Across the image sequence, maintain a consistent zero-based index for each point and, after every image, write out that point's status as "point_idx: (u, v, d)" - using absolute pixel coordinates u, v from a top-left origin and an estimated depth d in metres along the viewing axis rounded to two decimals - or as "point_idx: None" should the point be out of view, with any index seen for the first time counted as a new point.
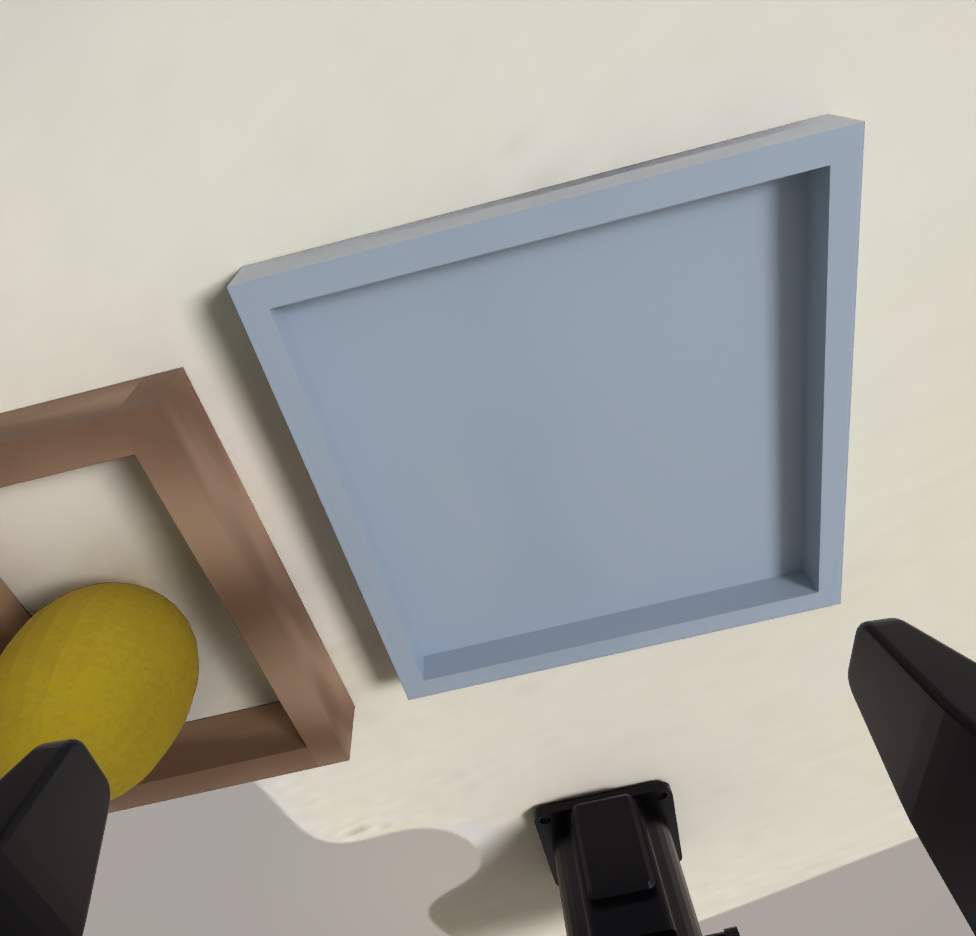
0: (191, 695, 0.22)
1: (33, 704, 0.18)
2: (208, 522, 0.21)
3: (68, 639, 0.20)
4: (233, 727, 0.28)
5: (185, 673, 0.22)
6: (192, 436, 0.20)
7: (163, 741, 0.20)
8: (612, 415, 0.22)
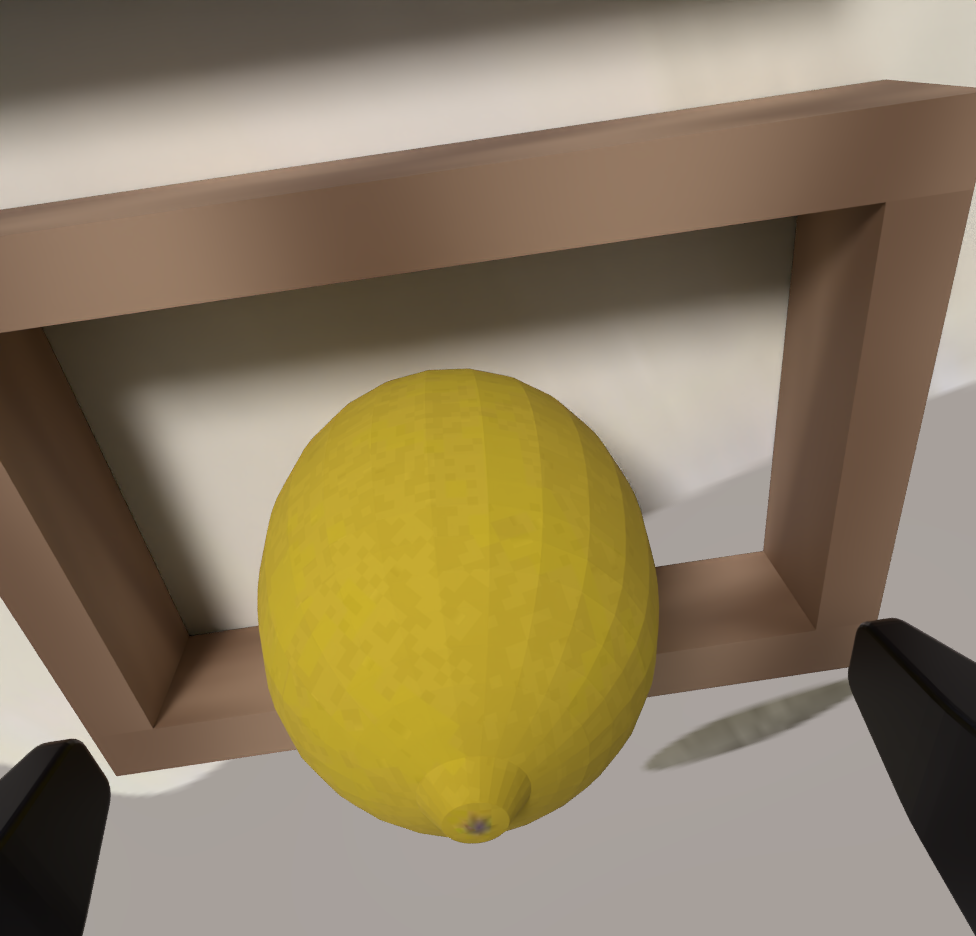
0: (519, 411, 0.09)
1: (280, 709, 0.08)
2: (99, 246, 0.09)
3: (258, 585, 0.09)
4: (802, 371, 0.13)
5: (443, 404, 0.09)
6: None
7: (527, 506, 0.08)
8: None
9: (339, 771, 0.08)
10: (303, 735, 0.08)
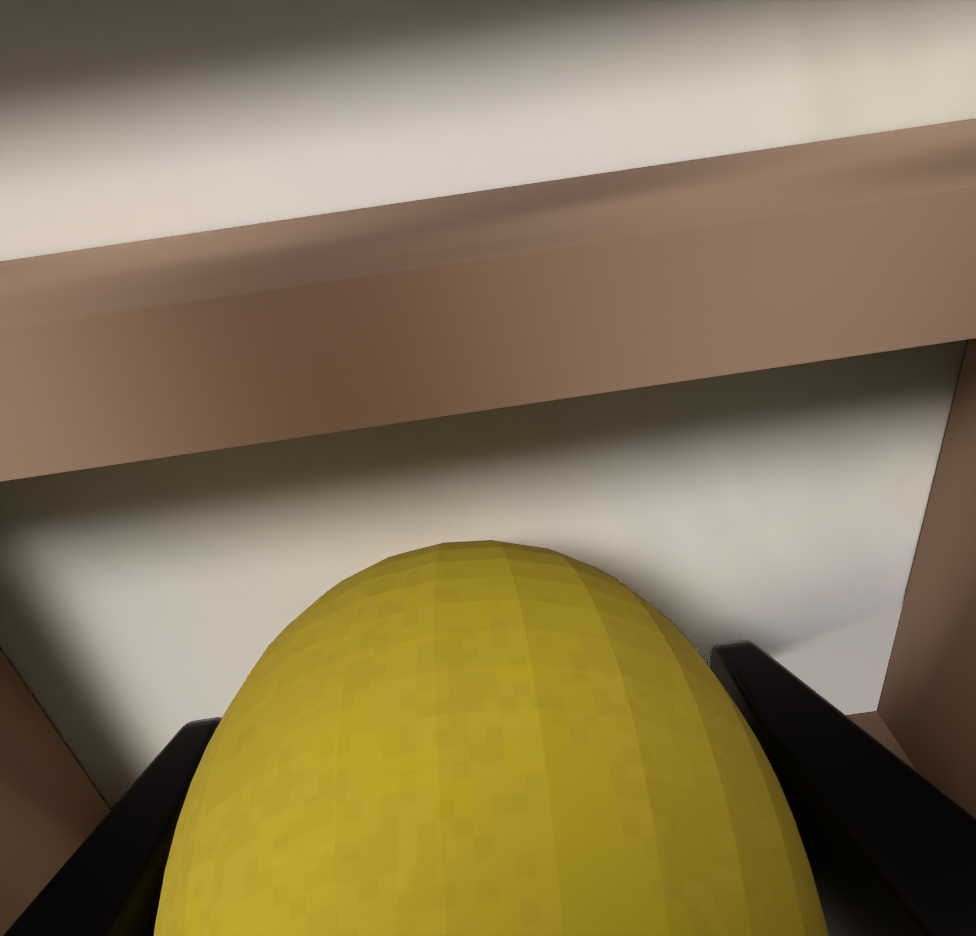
0: (599, 680, 0.05)
1: None
2: None
3: None
4: (972, 510, 0.09)
5: (468, 674, 0.05)
6: None
7: None
8: None
9: None
10: None
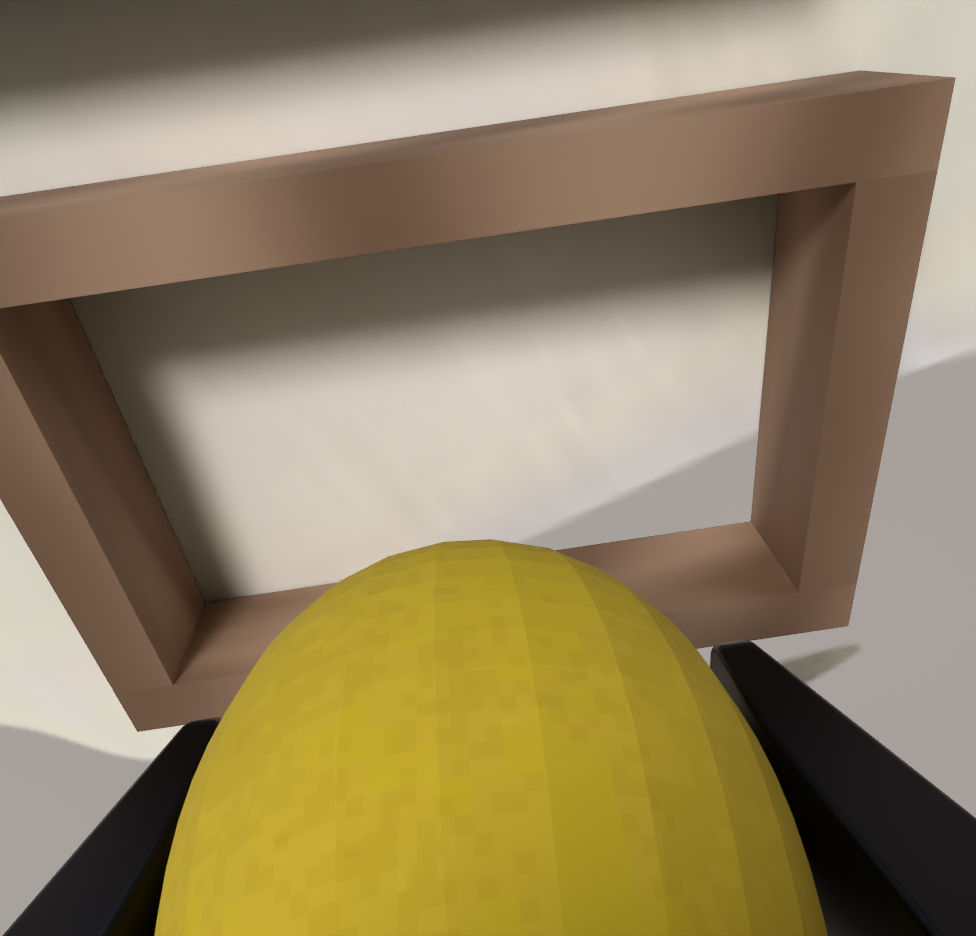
0: (599, 679, 0.05)
1: None
2: (133, 221, 0.10)
3: None
4: (784, 346, 0.14)
5: (469, 672, 0.05)
6: None
7: None
8: None
9: None
10: None
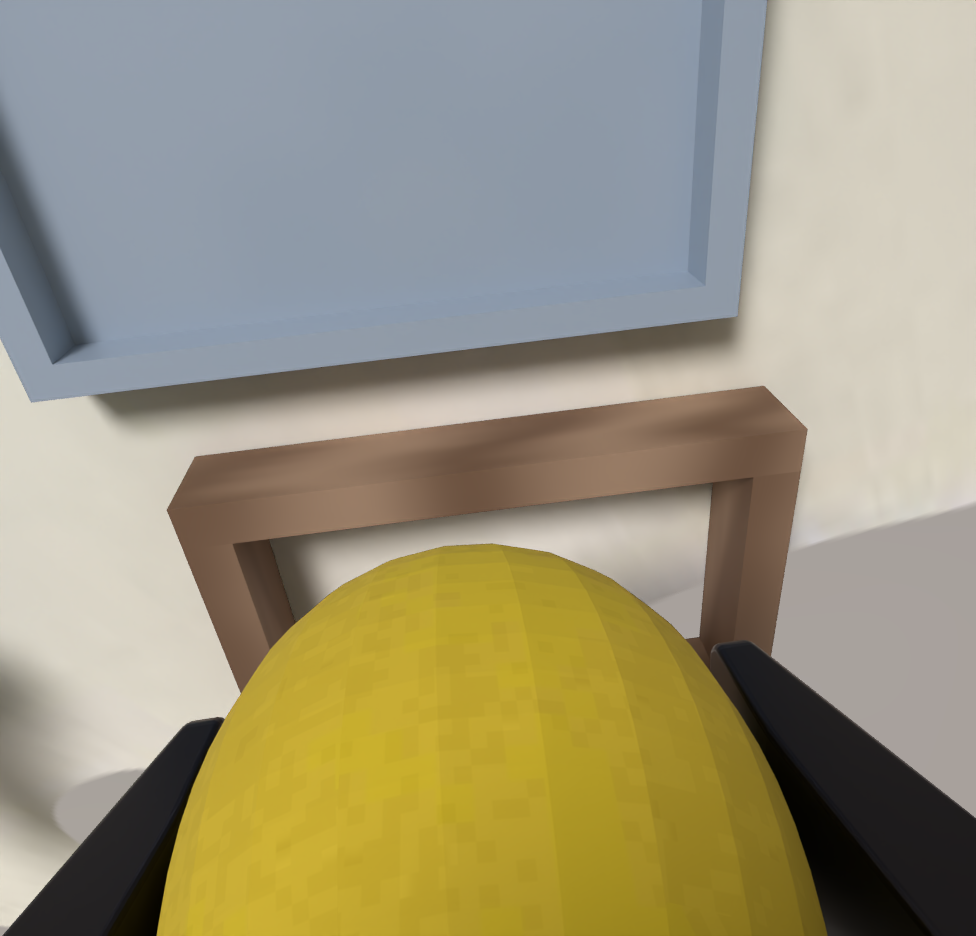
0: (600, 684, 0.05)
1: None
2: (331, 499, 0.17)
3: None
4: (718, 539, 0.21)
5: (471, 679, 0.05)
6: (241, 478, 0.18)
7: None
8: None
9: None
10: None
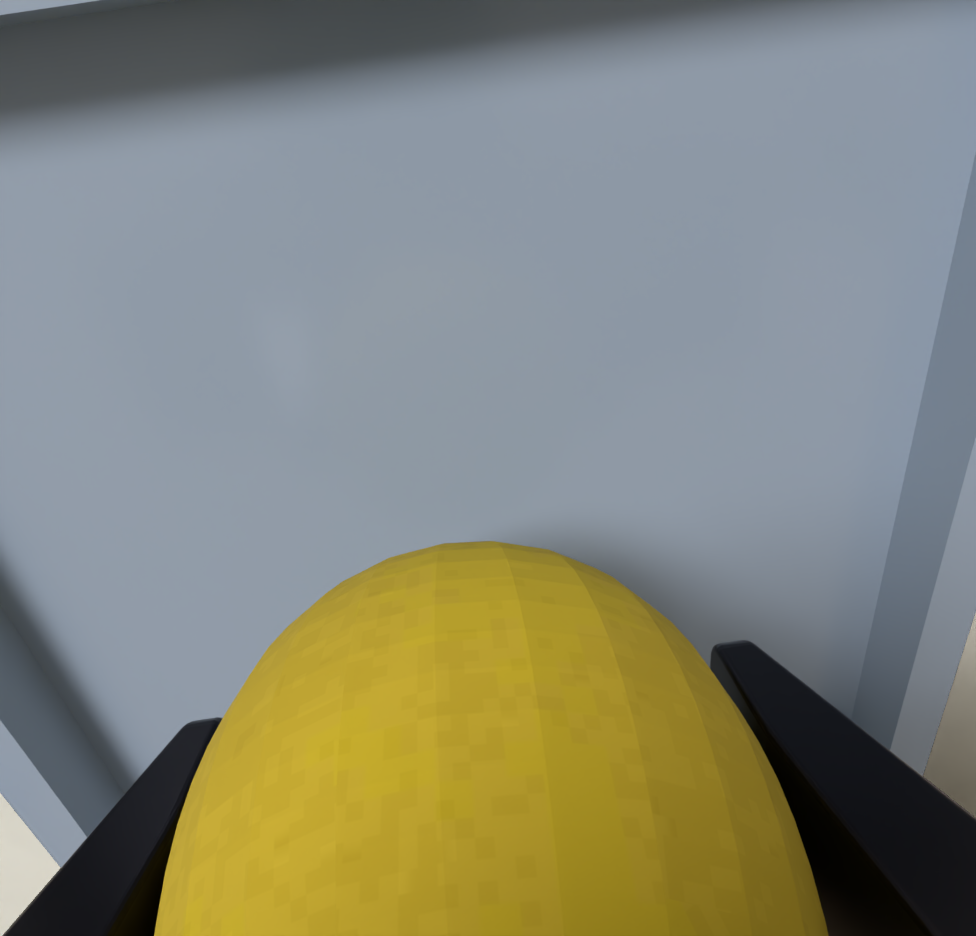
0: (599, 681, 0.05)
1: None
2: None
3: None
4: None
5: (469, 674, 0.05)
6: None
7: None
8: (368, 476, 0.10)
9: None
10: None
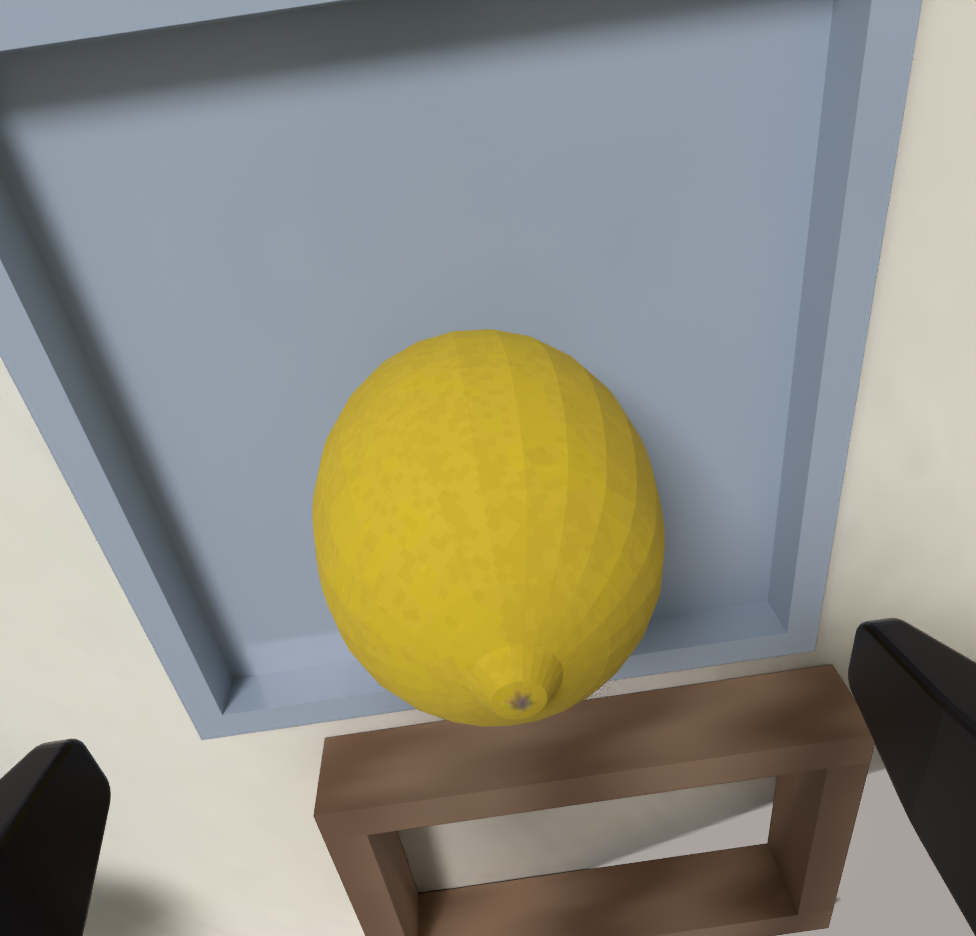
0: (540, 362, 0.10)
1: (345, 619, 0.09)
2: (455, 802, 0.19)
3: (313, 520, 0.11)
4: (789, 784, 0.23)
5: (474, 356, 0.10)
6: (372, 774, 0.20)
7: (554, 438, 0.09)
8: None
9: (399, 666, 0.09)
10: (366, 639, 0.09)
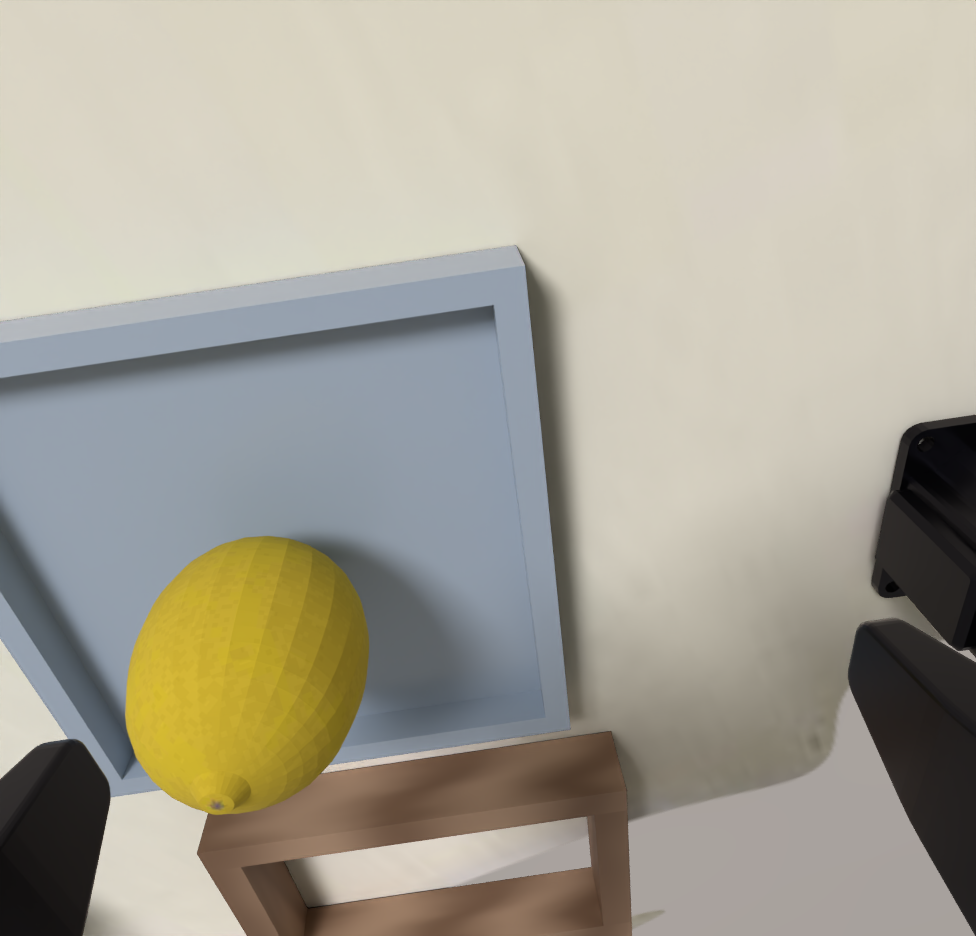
0: (270, 577, 0.16)
1: (132, 746, 0.15)
2: (306, 842, 0.25)
3: None
4: (589, 822, 0.29)
5: (227, 575, 0.16)
6: (246, 819, 0.26)
7: (252, 640, 0.15)
8: (231, 533, 0.20)
9: (157, 779, 0.15)
10: (141, 761, 0.15)
